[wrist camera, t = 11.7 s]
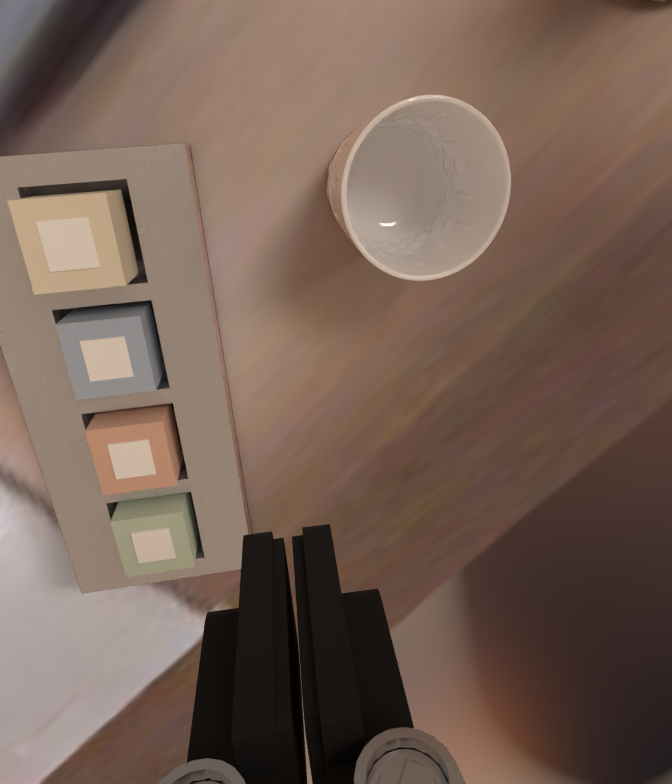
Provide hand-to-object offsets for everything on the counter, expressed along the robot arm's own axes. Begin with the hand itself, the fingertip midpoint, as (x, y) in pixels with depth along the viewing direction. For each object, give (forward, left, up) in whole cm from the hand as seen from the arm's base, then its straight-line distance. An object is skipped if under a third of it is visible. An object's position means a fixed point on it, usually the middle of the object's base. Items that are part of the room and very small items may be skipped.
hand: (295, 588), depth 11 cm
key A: (+9, +8, -26) cm, 29 cm away
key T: (+9, +2, -26) cm, 28 cm away
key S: (+9, -5, -24) cm, 26 cm away
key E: (+9, +15, -26) cm, 31 cm away
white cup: (-8, -6, -27) cm, 29 cm away
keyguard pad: (+9, +5, -27) cm, 29 cm away
